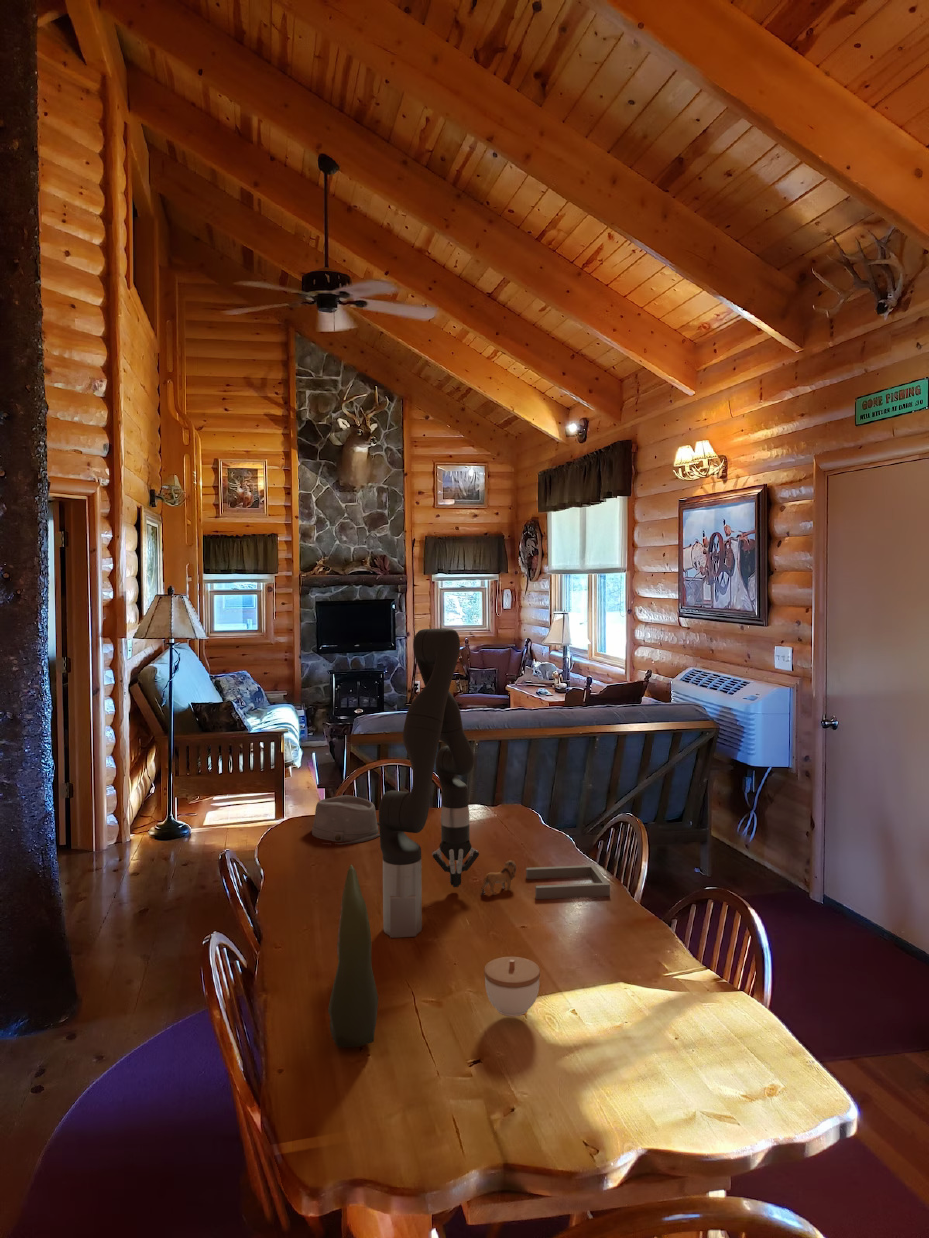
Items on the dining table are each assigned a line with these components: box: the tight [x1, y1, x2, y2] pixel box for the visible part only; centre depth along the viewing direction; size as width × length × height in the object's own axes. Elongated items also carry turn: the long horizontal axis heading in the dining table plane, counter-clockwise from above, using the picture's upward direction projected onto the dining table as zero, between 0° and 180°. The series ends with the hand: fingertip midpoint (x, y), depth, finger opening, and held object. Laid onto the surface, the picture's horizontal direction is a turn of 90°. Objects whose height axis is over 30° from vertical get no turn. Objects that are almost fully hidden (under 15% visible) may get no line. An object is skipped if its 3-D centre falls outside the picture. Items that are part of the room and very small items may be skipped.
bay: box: [525, 864, 611, 900], centre depth 217 cm, size 15×20×3 cm
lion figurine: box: [480, 860, 517, 896], centre depth 215 cm, size 12×4×7 cm, turn 129°
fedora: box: [311, 795, 380, 845], centre depth 262 cm, size 24×27×12 cm
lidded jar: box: [483, 956, 541, 1018], centre depth 155 cm, size 11×11×9 cm
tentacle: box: [327, 864, 379, 1048], centre depth 145 cm, size 9×12×30 cm
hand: (455, 886), depth 214 cm, fingers closed
